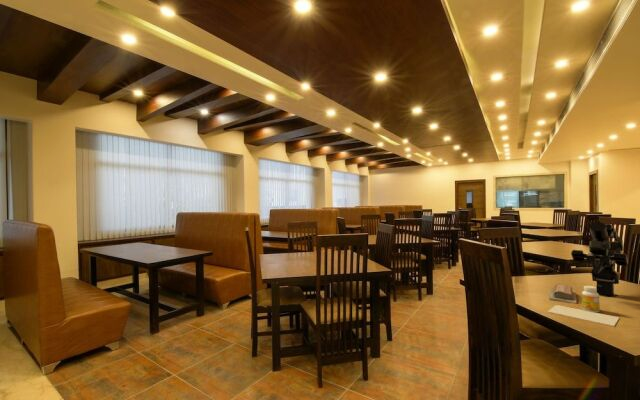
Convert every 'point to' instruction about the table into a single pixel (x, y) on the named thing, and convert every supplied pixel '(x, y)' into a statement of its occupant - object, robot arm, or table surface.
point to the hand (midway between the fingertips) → (596, 272)
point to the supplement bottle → (590, 299)
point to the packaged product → (562, 294)
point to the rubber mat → (584, 315)
